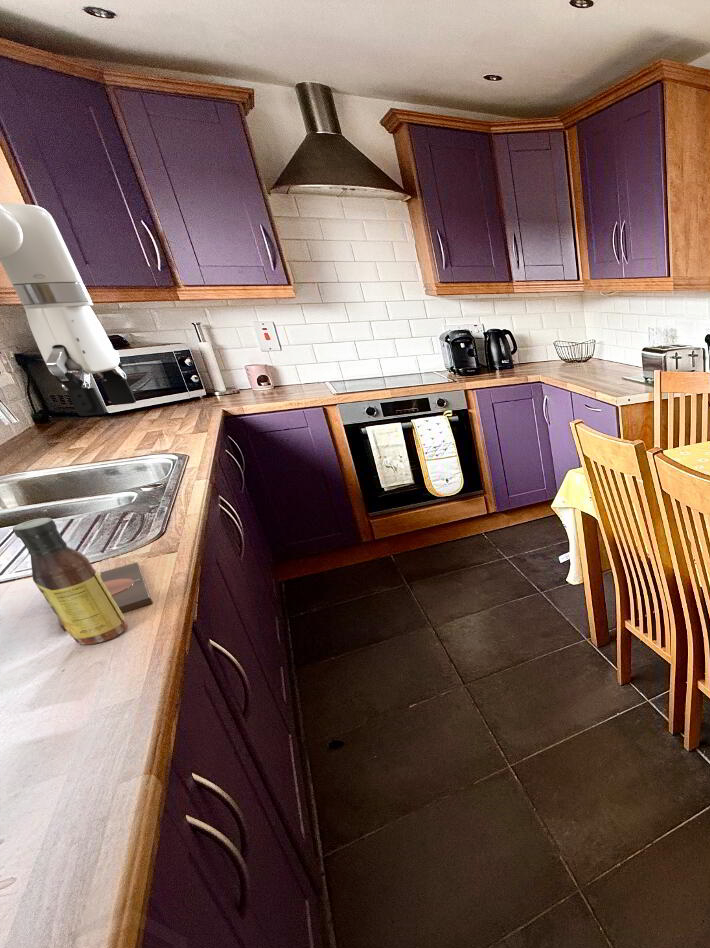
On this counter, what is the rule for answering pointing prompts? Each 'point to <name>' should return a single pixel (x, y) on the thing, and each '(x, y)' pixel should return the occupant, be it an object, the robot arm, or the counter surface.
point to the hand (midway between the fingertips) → (109, 409)
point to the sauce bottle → (70, 584)
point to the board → (125, 587)
